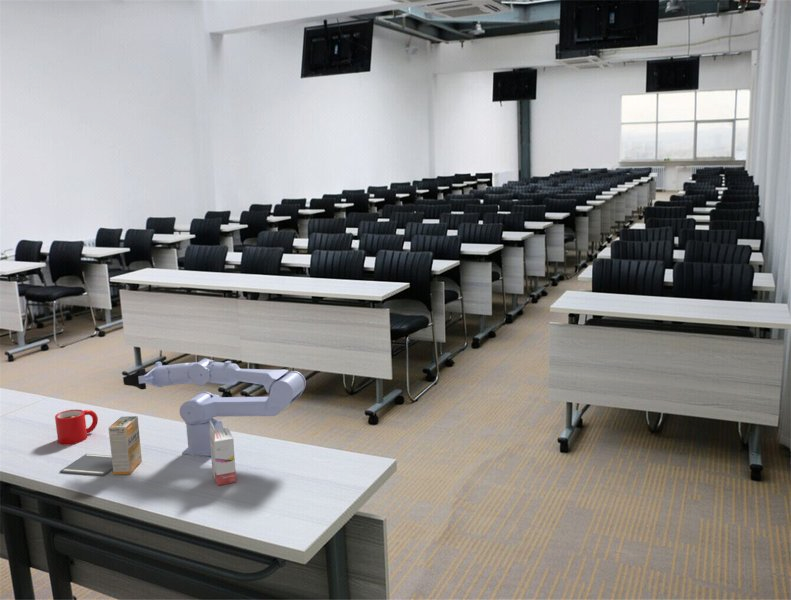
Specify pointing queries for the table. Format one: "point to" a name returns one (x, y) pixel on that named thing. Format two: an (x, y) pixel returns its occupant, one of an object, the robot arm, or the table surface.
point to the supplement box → (125, 445)
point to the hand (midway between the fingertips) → (133, 379)
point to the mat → (90, 465)
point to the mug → (74, 426)
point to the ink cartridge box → (222, 455)
